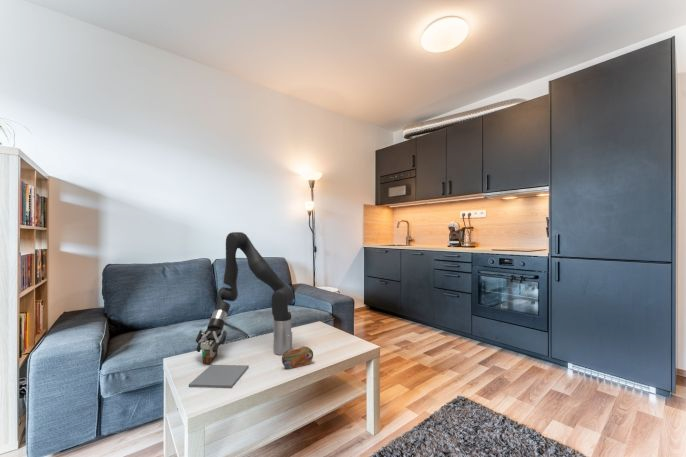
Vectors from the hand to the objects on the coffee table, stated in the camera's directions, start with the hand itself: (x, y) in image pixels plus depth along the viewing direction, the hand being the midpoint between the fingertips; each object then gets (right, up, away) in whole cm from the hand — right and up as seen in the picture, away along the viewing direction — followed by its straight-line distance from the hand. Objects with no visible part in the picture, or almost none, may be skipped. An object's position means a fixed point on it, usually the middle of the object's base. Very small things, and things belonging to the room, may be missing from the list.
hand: (206, 351), depth 141 cm
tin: (+45, -5, -4) cm, 46 cm away
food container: (0, -5, +1) cm, 6 cm away
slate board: (+13, -5, -14) cm, 20 cm away
